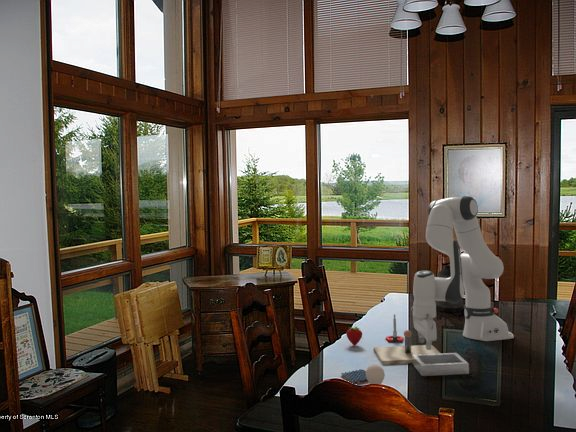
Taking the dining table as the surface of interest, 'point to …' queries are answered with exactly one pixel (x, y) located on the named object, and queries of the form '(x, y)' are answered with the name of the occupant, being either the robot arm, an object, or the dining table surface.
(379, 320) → the dining table surface
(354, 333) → the strawberry
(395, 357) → the board
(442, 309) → the beer stein
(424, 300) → the robot arm
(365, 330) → the dining table surface
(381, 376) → the light bulb
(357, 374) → the woven mat
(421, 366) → the steel link
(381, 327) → the dining table surface
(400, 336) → the tow hook
